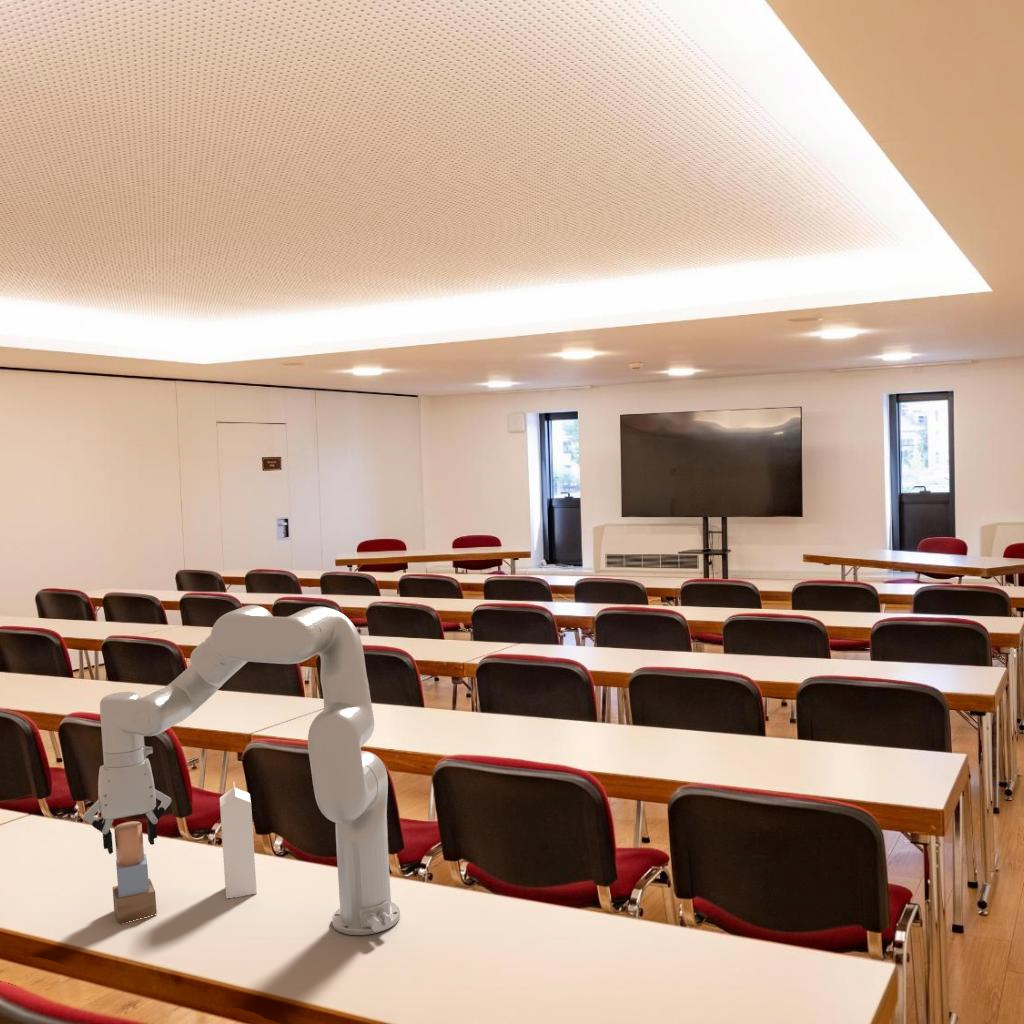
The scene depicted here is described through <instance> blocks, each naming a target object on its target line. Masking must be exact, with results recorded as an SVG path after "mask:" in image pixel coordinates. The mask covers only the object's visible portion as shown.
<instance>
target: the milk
mask: <svg viewBox="0 0 1024 1024" xmlns="http://www.w3.org/2000/svg"><path fill="white" fill-rule="evenodd" d="M233 783H235V780H233ZM251 801H252V800H251V794H250V793H249V792H247V791H244V790H241V789H239V788H237V787H235V784H233V787H232V788H231V789H230V790H228V791H227V792H225V793H224V794H223V795H221V796H220V797H219V811H220V812H219V813H220V823H221V825H220V826H221V827H220V828H221V839H222V840H221V841H222V854H223V855H222V857H223V869H224V871H223V872H224V885H225V887H224V888H225V898H226V900H229V899H228V898H230V899H234V898H233V897H235V898H240V897H245V896H246V895H247V896H252V895H251V894H253V895H257V894H258V889H257V876H256V873H257V872H256V862H255V860H256V859H255V846H254V845H255V843H254V831H253V829H254V828H253V827H254V826H253V814H252V812H253V811H252V802H251Z"/></svg>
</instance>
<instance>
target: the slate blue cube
mask: <svg viewBox="0 0 1024 1024" xmlns="http://www.w3.org/2000/svg"><path fill="white" fill-rule="evenodd" d="M115 863H116V865H115V866H116V878H117V879H116V880H117V886H118V894H119V898H120V897H125V896H130V895H135V894H140V893H145V892H149V881H148V879H149V869H148V860H147V854H146V853H144V861H143V862H141V863H139V864H136V865H133V866H126V867H122V866H118V865H117V858H116V859H115Z"/></svg>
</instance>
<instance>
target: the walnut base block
mask: <svg viewBox="0 0 1024 1024" xmlns="http://www.w3.org/2000/svg"><path fill="white" fill-rule="evenodd" d="M148 881H149V892H145V893H140V894H135V895H130V896H125V897H120V898H119V894H118V885H115V886H112V896H113V897H112V900H113V912H114V914H115V918H117V919H116V921H117V924H120V925H123V924H122V923H124V924H127V923H126V922H128V923H130V922H129V921H132V922H134V921H133V920H136V919H140V918H144V917H148V916H151V915H155V914H157V913H158V912H157V900H156V889H155V888H154V885H153V883H152V880H151V878H149V877H148ZM157 915H158V914H157ZM144 919H145V918H144ZM140 920H141V919H140ZM136 921H137V920H136Z"/></svg>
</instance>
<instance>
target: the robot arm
mask: <svg viewBox="0 0 1024 1024" xmlns="http://www.w3.org/2000/svg"><path fill="white" fill-rule="evenodd" d="M363 646H364V645H363V642H362V639H361V636H360V633H359V631H358V629H357V628H356V626H355V625H354V623H353V622H352V621H351V619H349V618H348V617H347V616H346V615H345V614H343V613H342V612H340V611H338V610H336V609H333V608H331V607H326V606H311V607H306V608H305V609H304V608H303V609H302V610H299V611H297V612H294V613H293V614H291V615H288V616H274V615H273V614H272V613H271V612H270V611H269V610H268V609H267V608H265V607H263V606H260V605H255V604H254V605H253V604H251V605H245V606H242V607H240V608H237V609H234V610H231V611H229V612H227V613H224V614H223V615H221V616H220V617H219V618H218V619H216V621H215V622H214V623H213V626H212V628H211V631H210V635H208V637H207V638H205V639H204V640H203V641H202V642H201V643H200V644H199V645H197V646H196V647H195V648H194V649H192V652H191V653H190V665H189V666H187V668H186V669H185V670H183V671H182V673H180V674H179V675H178V676H177V677H176V678H175V679H174V680H172V681H171V682H170V683H168V685H166V686H165V687H163V688H160V689H158V690H156V691H154V692H152V693H150V694H147V695H145V696H142V697H141V696H140V695H139V694H138V693H136V692H133V691H123V692H122V691H120V692H115V693H114V692H113V693H110V694H108V695H105V696H104V697H102V699H101V700H100V701H99V702H100V703H99V714H100V728H101V743H102V744H101V745H102V757H103V765H100V766H99V770H98V771H99V772H98V781H97V787H98V788H97V791H98V794H97V795H98V798H97V800H96V801H95V802H94V803H93V804H92V805H91V806H90V807H89V809H87V811H85V813H84V814H83V815H82V816H83V819H84V820H85V821H86V822H87V823H88V824H89V825H90V826H92V827H93V828H95V830H97V831H98V832H100V833H102V842H103V849H104V850H107V852H108V854H109V855H112V854H114V848H113V847H114V846H113V834H112V832H111V827H112V826H113V823H114V820H118V819H122V818H123V819H124V818H128V817H133V816H138V815H142V814H143V815H144V814H145V815H146V817H147V821H146V827H147V828H146V829H147V840H148V843H149V845H150V846H153V845H155V839H158V834H157V833H158V832H157V831H158V829H157V823H158V821H159V820H160V818H162V816H163V815H164V813H165V811H166V810H167V808H168V807H169V806H170V805H171V803H172V798H171V797H170V796H168V795H167V794H165V793H163V792H161V791H159V790H157V789H156V788H155V787H156V786H155V782H154V781H155V780H154V776H153V772H152V766H151V762H150V760H149V758H148V756H149V755H150V754H153V753H154V749H153V746H146V745H145V737H153V736H156V735H160V734H161V733H164V732H165V731H167V730H169V729H170V728H172V727H173V726H176V725H177V724H179V723H182V722H183V721H184V720H186V719H187V718H189V717H190V716H191V715H192V714H194V713H195V712H196V711H197V710H198V709H199V708H200V707H201V706H203V705H204V704H205V703H206V702H207V701H208V700H209V699H210V698H211V697H213V695H214V694H216V693H217V692H218V690H219V689H220V688H222V686H223V685H224V684H225V683H226V682H227V681H228V680H229V679H231V678H232V676H233V675H235V674H236V673H237V672H238V671H239V670H240V669H241V668H243V666H245V665H246V664H247V663H248V662H249V663H250V662H252V663H263V664H264V663H265V664H266V663H267V664H281V665H293V664H299V663H303V662H305V661H308V660H309V659H311V658H312V657H315V656H316V655H319V657H320V684H321V685H320V686H321V689H322V690H321V691H322V699H323V710H322V711H320V712H319V713H318V714H317V715H316V716H315V718H314V719H313V720H312V722H311V723H310V726H309V730H308V734H307V750H308V759H309V764H310V771H311V772H310V773H311V777H312V785H313V792H314V797H315V801H316V804H317V806H318V807H317V808H318V809H319V810H320V812H321V814H322V815H323V816H324V817H325V818H326V819H327V820H329V821H331V822H333V823H335V843H336V845H335V846H336V860H337V861H336V862H337V876H338V877H337V879H338V895H339V908H338V909H337V910H336V911H335V912H334V913H333V915H332V917H331V919H332V920H331V922H332V926H333V929H335V930H336V931H337V932H338V933H339V932H340V933H342V934H345V935H349V936H366V935H367V936H368V935H374V934H377V933H380V932H384V931H386V930H389V929H390V928H392V927H393V926H394V925H396V924H397V923H398V922H399V920H400V918H401V909H400V907H399V905H397V904H396V903H394V902H392V897H391V893H392V892H391V879H390V877H391V876H390V861H389V860H390V859H389V858H390V857H389V843H388V841H389V840H388V837H389V835H388V817H387V816H388V814H387V813H388V812H387V810H388V793H389V792H388V791H389V790H388V789H389V788H388V787H389V781H388V780H389V779H388V772H387V769H386V766H385V764H384V763H383V761H382V760H381V758H379V756H377V754H375V753H373V752H371V751H366V750H365V751H364V750H362V747H363V746H364V745H365V744H366V743H367V742H368V741H369V740H370V738H371V737H372V735H373V733H374V731H375V730H374V729H375V718H374V711H373V704H372V699H371V691H370V684H369V679H368V675H367V667H366V659H365V654H364V652H365V651H364V647H363ZM157 800H158V801H160V802H161V803H160V805H158V806H157ZM156 807H157V808H156ZM97 812H99V813H100V814H101V817H102V819H103V820H102V821H101V820H99V819H97V818H96V817H95V815H96V813H97Z"/></svg>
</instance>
